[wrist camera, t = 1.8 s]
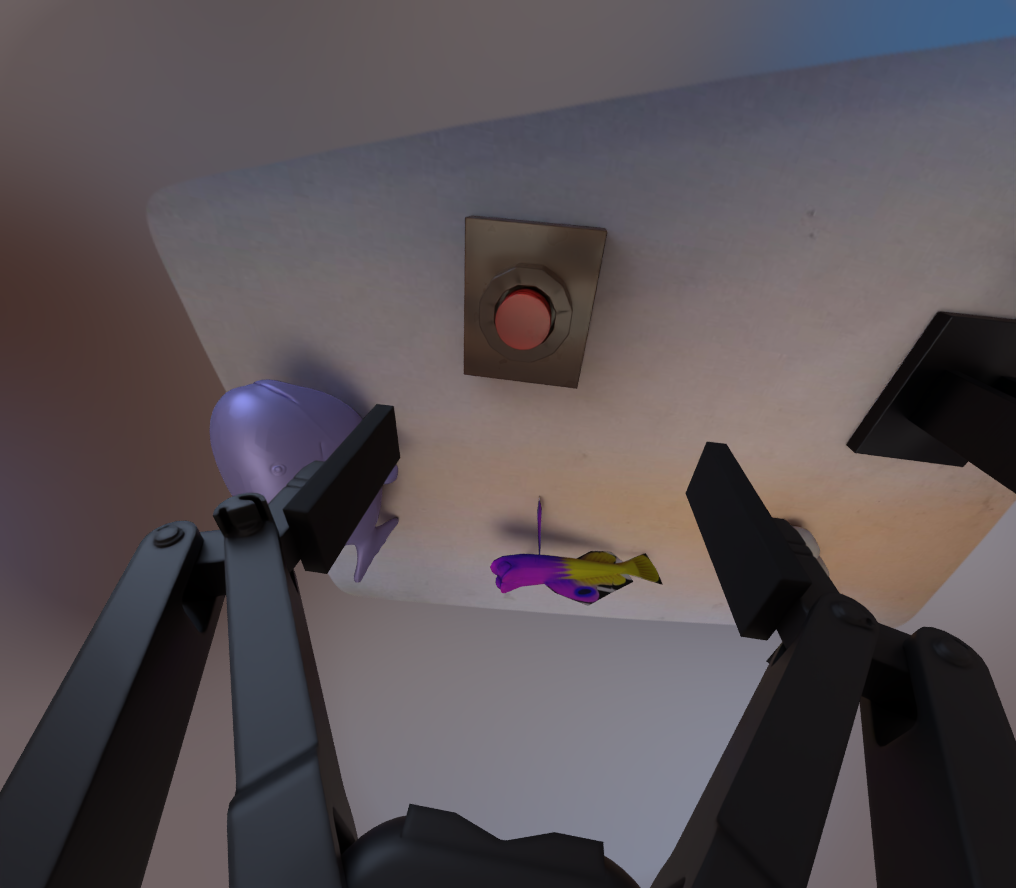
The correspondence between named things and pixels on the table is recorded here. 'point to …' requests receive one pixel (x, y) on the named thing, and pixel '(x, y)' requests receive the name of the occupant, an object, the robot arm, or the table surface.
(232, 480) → the toy whale
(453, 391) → the table surface
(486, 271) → the button block
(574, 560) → the toy
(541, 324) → the button
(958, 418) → the bracket
